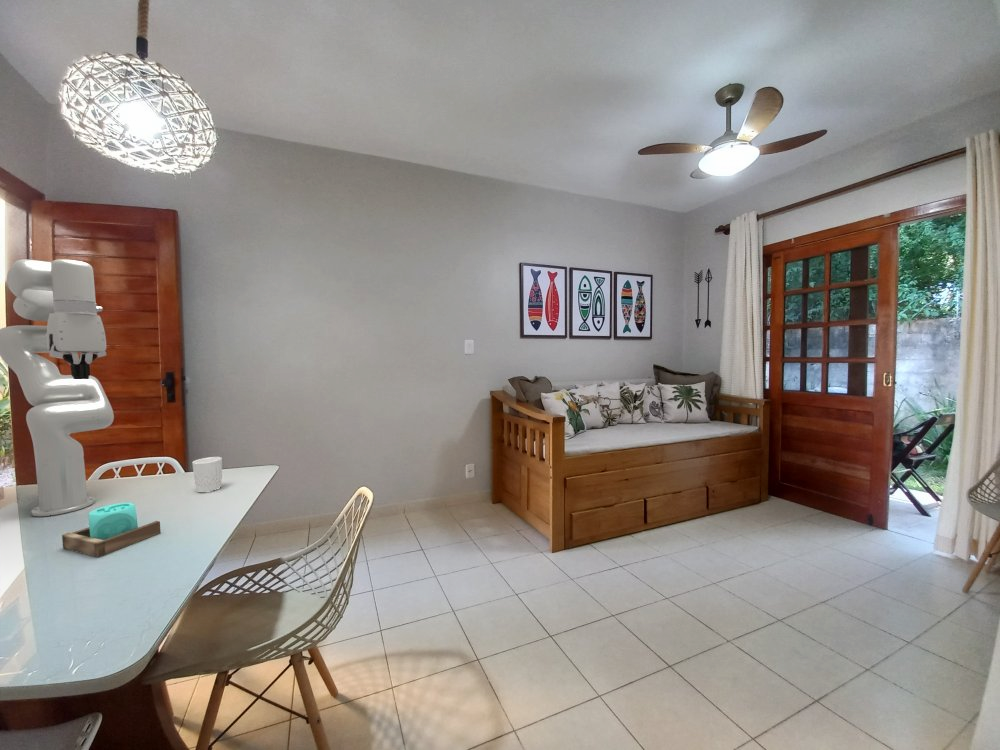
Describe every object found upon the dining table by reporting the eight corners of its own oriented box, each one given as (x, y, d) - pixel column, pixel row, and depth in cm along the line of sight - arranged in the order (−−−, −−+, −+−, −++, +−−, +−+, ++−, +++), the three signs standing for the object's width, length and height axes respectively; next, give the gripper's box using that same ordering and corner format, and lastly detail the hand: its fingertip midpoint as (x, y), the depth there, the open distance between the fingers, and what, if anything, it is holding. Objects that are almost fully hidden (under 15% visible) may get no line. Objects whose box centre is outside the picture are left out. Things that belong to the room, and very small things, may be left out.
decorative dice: (90, 541, 95) (87, 509, 95) (135, 530, 101) (132, 499, 101) (91, 552, 90) (89, 518, 89) (138, 539, 96) (136, 507, 95)
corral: (63, 548, 92) (61, 534, 92) (126, 526, 103) (125, 514, 103) (98, 557, 88) (97, 542, 87) (160, 532, 99) (159, 520, 99)
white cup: (207, 494, 126) (206, 464, 125) (187, 493, 128) (185, 462, 127) (229, 486, 134) (227, 457, 133) (210, 484, 135) (208, 456, 135)
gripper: (103, 312, 110) (108, 377, 111) (25, 306, 96) (32, 381, 97) (120, 311, 108) (125, 377, 109) (43, 305, 94) (49, 381, 95)
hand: (81, 379), depth 103 cm, fingers closed
